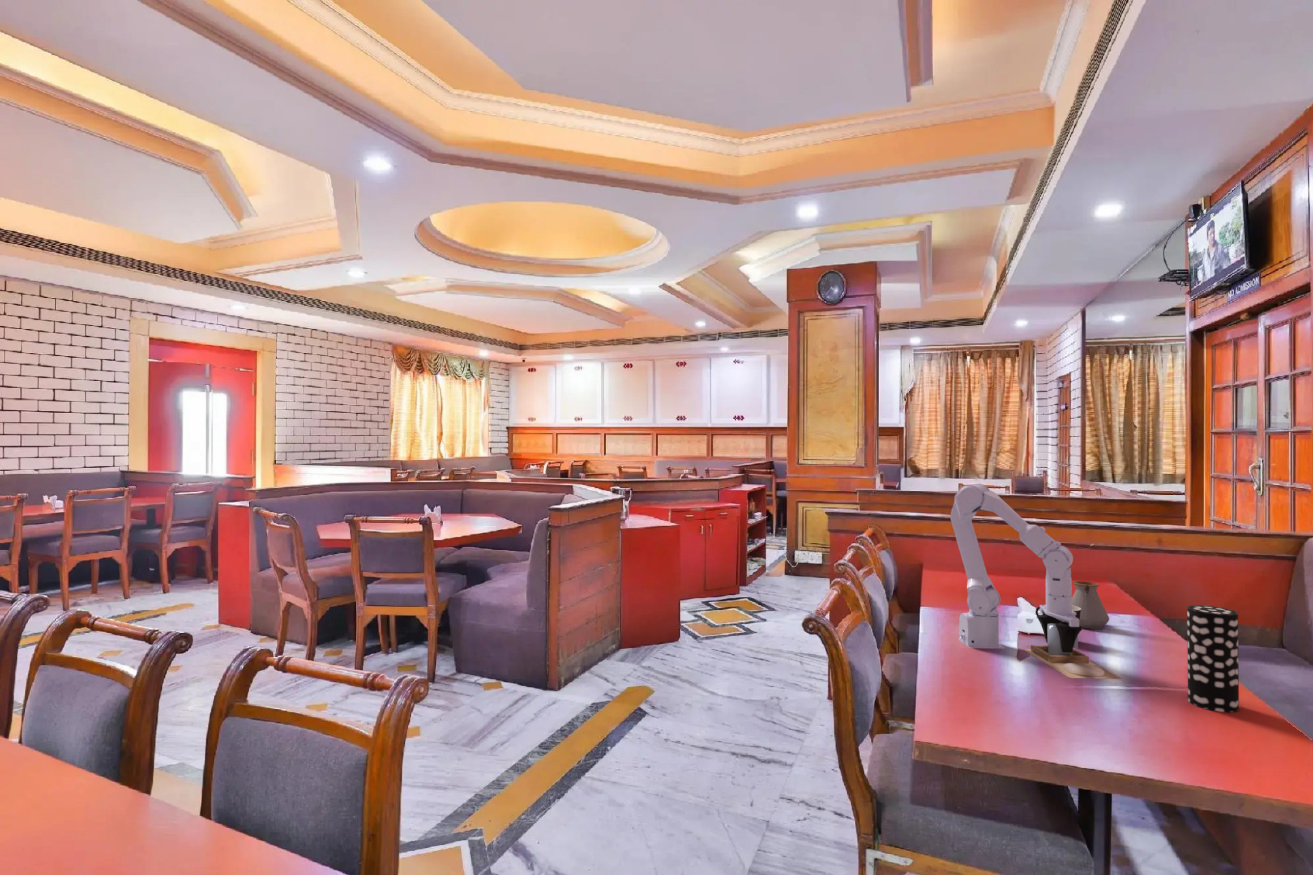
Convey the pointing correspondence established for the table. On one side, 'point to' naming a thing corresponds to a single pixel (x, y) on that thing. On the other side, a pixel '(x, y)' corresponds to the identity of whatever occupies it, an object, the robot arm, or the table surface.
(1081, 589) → the coffee pot
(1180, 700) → the table surface
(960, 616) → the robot arm
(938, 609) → the table surface
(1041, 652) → the jug board
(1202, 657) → the white-spotted black cylinder
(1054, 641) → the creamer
